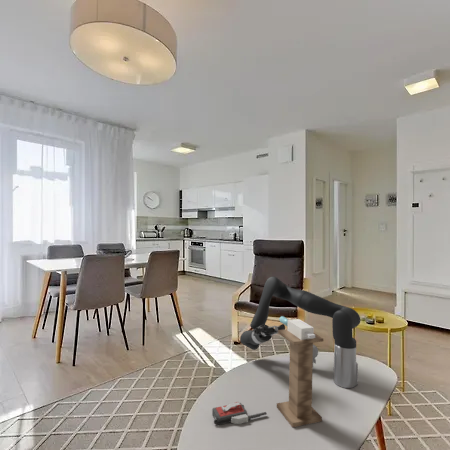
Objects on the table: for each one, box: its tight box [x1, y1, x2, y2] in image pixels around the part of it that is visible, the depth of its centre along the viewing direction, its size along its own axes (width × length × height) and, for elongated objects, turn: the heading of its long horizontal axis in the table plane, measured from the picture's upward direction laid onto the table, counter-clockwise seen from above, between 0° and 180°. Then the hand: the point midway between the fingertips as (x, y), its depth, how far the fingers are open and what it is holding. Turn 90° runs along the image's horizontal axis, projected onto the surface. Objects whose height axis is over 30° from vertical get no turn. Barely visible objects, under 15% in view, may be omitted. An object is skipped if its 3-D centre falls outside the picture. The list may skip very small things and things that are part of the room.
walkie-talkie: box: [211, 401, 267, 425], centre depth 111 cm, size 9×4×20 cm
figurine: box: [312, 344, 319, 369], centre depth 149 cm, size 8×8×12 cm
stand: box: [276, 328, 324, 428], centre depth 113 cm, size 12×12×30 cm
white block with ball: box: [279, 315, 315, 340], centre depth 116 cm, size 5×23×4 cm, turn 17°
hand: (275, 327), depth 132 cm, fingers open, 8 cm apart
